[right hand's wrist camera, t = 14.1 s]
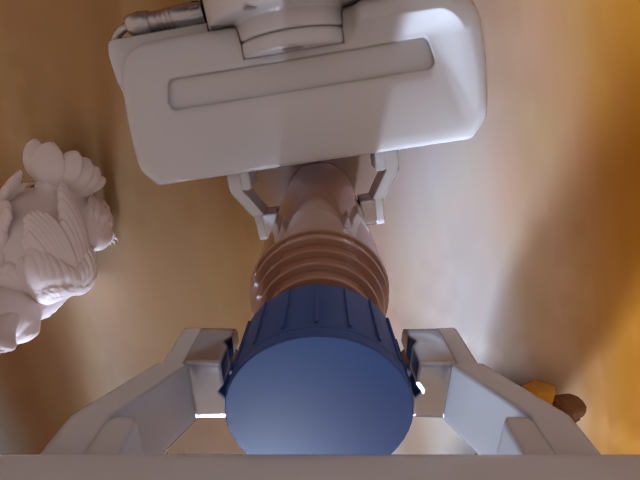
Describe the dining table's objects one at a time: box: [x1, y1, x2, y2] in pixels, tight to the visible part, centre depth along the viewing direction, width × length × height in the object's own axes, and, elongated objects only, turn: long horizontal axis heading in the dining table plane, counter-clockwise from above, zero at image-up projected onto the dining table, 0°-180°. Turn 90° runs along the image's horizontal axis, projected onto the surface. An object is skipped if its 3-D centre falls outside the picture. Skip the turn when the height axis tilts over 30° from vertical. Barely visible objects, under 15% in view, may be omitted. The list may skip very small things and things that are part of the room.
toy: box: [477, 380, 586, 455], centre depth 35 cm, size 11×6×15 cm
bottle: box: [250, 163, 389, 316], centre depth 19 cm, size 5×5×21 cm
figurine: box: [0, 139, 118, 353], centre depth 23 cm, size 8×15×13 cm, turn 162°
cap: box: [224, 284, 414, 455], centre depth 9 cm, size 4×5×2 cm
